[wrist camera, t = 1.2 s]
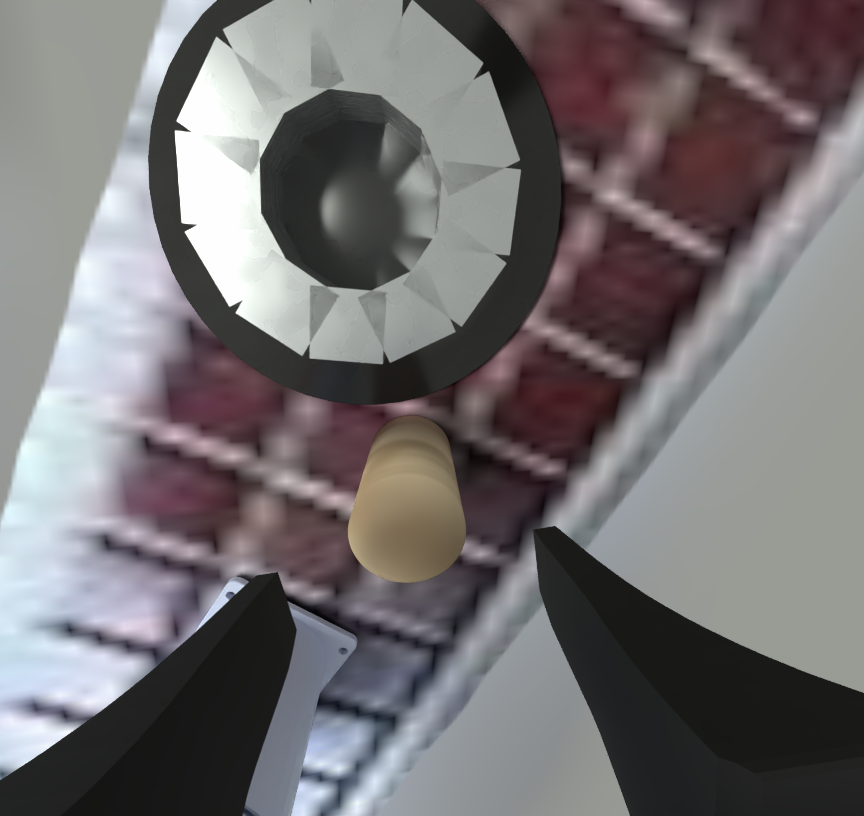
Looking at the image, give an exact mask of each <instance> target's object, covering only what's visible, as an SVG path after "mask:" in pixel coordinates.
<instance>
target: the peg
mask: <svg viewBox="0 0 864 816" xmlns="http://www.w3.org/2000/svg"><path fill="white" fill-rule="evenodd" d="M348 538H349V543H350V546H351V549H352V551H353V553H354V555H355V556H356V558H357V559H358V561H359V562H360V563H361V564H362V565H363V566H364V567H365V568H366V569H368V570H369V571H370V572H372V573H373V574H375V575H377V576H379V577H381V578H384V579H387V580H390V581H395V582H403V583H411V582H419V581H423V580H427V579H430V578H433V577H435V576H437V575H439V574H440V573H442V572H443V571H445V570H446V569H447V568H449V567H450V566H451V565H452V564H453V563H454V562H455V560H456V559H457V558H458V556H459V555H460V553H461V551H462V549H463V546H464V543H465V538H466V524H465V519H464V514H463V509H462V504H461V499H460V494H459V489H458V484H457V479H456V474H455V469H454V464H453V459H452V454H451V449H450V444H449V441H448V438H447V436H446V434H445V433H444V431H443V430H442V429H441V428H440V427H439V426H438V425H437V424H436V423H434V422H433V421H431V420H429V419H427V418H424V417H421V416H415V415H407V416H401V417H397V418H395V419H392V420H391V421H389V422H387V423H386V424H385V425H383V426H382V427H381V428H380V430H379V431H378V432H377V434H376V435H375V437H374V440H373V443H372V446H371V449H370V453H369V456H368V460H367V463H366V466H365V470H364V473H363V476H362V480H361V483H360V486H359V490H358V493H357V496H356V500H355V503H354V507H353V510H352V513H351V517H350V520H349V526H348Z"/></svg>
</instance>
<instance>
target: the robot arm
mask: <svg viewBox="0 0 864 816" xmlns="http://www.w3.org/2000/svg"><path fill="white" fill-rule="evenodd" d="M533 533H534V542H535V551H536V561H537V570H538V579H539V588H540V593H541V596H542V599H543V602H544V605H545V608H546V611H547V613H548V616H549V620H550V623H551V625H552V628H553V630H554V632H555V635H556V637H557V639H558V641H559V643H560V645H561V648H562V650H563V652H564V654H565V656H566V658H567V661H568V662H569V665H570V667H571V669H572V671H573V674H574V676H575V678H576V680H577V682H578V684H579V687H580V689H581V691H582V693H583V695H584V697H585V699H586V701H587V704H588V706H589V708H590V710H591V713H592V715H593V717H594V720H595V722H596V724H597V727H598V729H599V732H600V734H601V737H602V739H603V742H604V745H605V747H606V750H607V753H608V756H609V758H610V761H611V764H612V767H613V769H614V772H615V775H616V778H617V780H618V783H619V786H620V789H621V792H622V794H623V797H624V800H625V803H626V805H627V808H628V811H629V814H630V816H864V693H862V692H859V691H857V690H853V689H851V688H848V687H845V686H842V685H840V684H837V683H834V682H831V681H828V680H825V679H823V678H819V677H817V676H814V675H811V674H809V673H806V672H804V671H801V670H798V669H796V668H794V667H791V666H789V665H786V664H784V663H781V662H779V661H777V660H774V659H772V658H769V657H767V656H764V655H762V654H760V653H757V652H755V651H753V650H751V649H748V648H746V647H744V646H741V645H739V644H737V643H735V642H733V641H731V640H729V639H727V638H725V637H723V636H721V635H719V634H717V633H715V632H712V631H710V630H708V629H706V628H704V627H702V626H700V625H698V624H697V623H695V622H693V621H691V620H689V619H687V618H685V617H683V616H682V615H680V614H678V613H676V612H675V611H673V610H671V609H669V608H668V607H666V606H664V605H662V604H661V603H659V602H657V601H656V600H654V599H652V598H651V597H649V596H647V595H646V594H644V593H643V592H641V591H640V590H638V589H637V588H635V587H634V586H632V585H631V584H629V583H628V582H626V581H625V580H623V579H622V578H621V577H619V576H618V575H616V574H615V573H614V572H612V571H611V570H610V569H608V568H607V567H606V566H604V565H603V564H602V563H600V562H599V561H598V560H596V559H595V558H594V557H593V556H591V555H590V554H589V553H588V552H586V551H585V550H584V549H583V548H581V547H580V546H579V545H578V544H576V543H575V542H574V541H573V540H572V539H570V538H569V537H568V536H567V535H566V534H564V533H563V532H562V531H561V530H560V529H558V528H557V527H556V526H553V527H547V528H541V529H535V530H533ZM230 592H233V593H235V594H231V593H230ZM356 646H357V638H356V636H355V635H353V634H351V633H349V632H347V631H346V630H344V629H342V628H340V627H338V626H336V625H334V624H332V623H330V622H328V621H326V620H324V619H322V618H320V617H318V616H316V615H314V614H312V613H310V612H308V611H306V610H304V609H302V608H300V607H298V606H296V605H294V604H292V603H290V602H288V601H287V599H286V596H285V593H284V590H283V587H282V584H281V581H280V578H279V575H278V572H276V573H270V574H264V575H258V576H255V577H254V578H253V579H252V580H251V581H247V580H245V579H243V578H240V577H233V578H231V579H230V580H229V582H228V583H227V585H226V586H225V588H224V589H223V591H222V592H221V594H220V595H219V597H218V598H217V600H216V601H215V603H214V604H213V606H212V607H211V609H210V610H209V612H208V613H207V615H206V616H205V618H204V619H203V621H202V622H201V624H200V625H199V627H198V628H197V630H196V631H195V633H194V634H193V635H192V636H191V637H190V638H188V639H187V640H186V641H185V642H184V643H183V644H182V645H180V646H179V647H178V648H177V649H176V650H175V651H174V652H173V653H171V654H170V655H169V656H168V657H167V658H166V659H165V660H163V661H162V662H161V663H160V664H159V665H158V666H157V667H156V668H154V669H153V670H152V671H151V672H150V673H149V674H147V675H146V676H145V677H144V678H143V679H141V680H140V681H139V682H138V683H136V684H135V685H134V686H133V687H131V688H130V689H129V690H128V691H126V692H125V693H124V694H123V695H121V696H120V697H119V698H117V699H116V700H115V701H114V702H112V703H111V704H110V705H108V706H107V707H106V708H104V709H103V710H102V711H100V712H99V713H98V714H96V715H95V716H94V717H92V718H91V719H90V720H88V721H87V722H85V723H84V724H82V725H81V726H80V727H78V728H77V729H75V730H74V731H73V732H71V733H70V734H68V735H67V736H66V737H64V738H63V739H61V740H60V741H58V742H57V743H56V744H54V745H53V746H51V747H50V748H49V749H47V750H46V751H44V752H43V753H41V754H40V755H38V756H37V757H35V758H34V759H32V760H31V761H29V762H28V763H26V764H25V765H23V766H22V767H20V768H19V769H17V770H16V771H14V772H13V773H11V774H9V775H8V776H6V777H5V778H3V779H2V780H0V816H291V813H292V809H293V805H294V800H295V796H296V792H297V788H298V783H299V779H300V775H301V771H302V766H303V762H304V758H305V754H306V749H307V745H308V741H309V737H310V733H311V728H312V724H313V720H314V716H315V711H316V707H317V703H318V699H319V694H320V692H321V691H322V690H323V688H324V687H325V686H326V685H327V683H328V682H329V681H330V680H331V678H332V677H333V676H334V675H335V673H336V672H337V671H338V670H339V668H340V667H341V666H342V665H343V663H344V662H345V661H346V660H347V658H348V657H349V656H350V655H351V653H352V652H353V651H354V650H355V648H356ZM342 648H346V649H342Z"/></svg>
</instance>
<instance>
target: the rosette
mask: <svg viewBox="0 0 864 816" xmlns="http://www.w3.org/2000/svg"><path fill="white" fill-rule="evenodd" d="M148 162H149V189H150V195H151V201H152V208H153V214H154V219H155V223H156V227H157V230H158V234H159V237H160V241H161V245H162V248H163V250H164V252H165V255H166V257H167V260H168V262H169V265H170V267H171V270H172V272H173V274H174V276H175V278H176V280H177V282H178V283H179V285H180V287H181V289H182V291H183V293H184V294H185V296H186V298H187V299H188V301H189V302H190V304H191V305H192V307H193V308H194V309H195V311H196V312H197V314H198V315H199V317H200V318H201V319H202V321H203V322H204V323H205V324H206V325H207V326H208V328H209V329H210V330H211V331H212V332H213V333H214V334H215V335H216V337H217V338H218V339H219V340H220V341H221V342H222V343H223V344H224V345H225V346H227V347H228V348H229V349H230V350H231V351H232V352H233V353H234V354H235V355H237V356H238V357H239V358H240V359H241V360H243V361H244V362H245V363H247V364H248V365H250V366H251V367H253V368H254V369H255V370H257V371H258V372H260V373H261V374H263V375H265V376H266V377H268V378H270V379H272V380H274V381H276V382H277V383H279V384H281V385H283V386H285V387H288V388H290V389H293V390H295V391H298V392H300V393H303V394H305V395H309V396H312V397H316V398H320V399H324V400H328V401H333V402H340V403H347V404H371V405H377V404H386V403H395V402H402V401H406V400H410V399H414V398H418V397H422V396H425V395H427V394H430V393H432V392H435V391H438V390H440V389H443V388H445V387H447V386H449V385H451V384H452V383H454V382H456V381H458V380H460V379H462V378H463V377H465V376H467V375H468V374H469V373H471V372H472V371H474V370H475V369H476V368H478V367H479V366H481V365H482V364H483V363H485V362H486V361H487V360H488V359H489V358H490V357H491V356H492V355H493V354H494V353H495V352H496V351H498V350H499V349H500V348H501V347H502V346H503V345H504V343H505V342H506V341H507V340H508V339H509V337H510V336H511V335H512V334H513V333H514V332H515V330H516V329H517V328H518V327H519V325H520V324H521V322H522V320H523V319H524V317H525V316H526V314H527V313H528V311H529V310H530V308H531V307H532V305H533V303H534V301H535V299H536V297H537V295H538V293H539V291H540V288H541V286H542V284H543V282H544V279H545V277H546V274H547V271H548V268H549V265H550V262H551V259H552V256H553V252H554V247H555V243H556V238H557V234H558V228H559V218H560V209H561V171H560V163H559V156H558V148H557V142H556V138H555V134H554V130H553V126H552V122H551V118H550V115H549V111H548V109H547V106H546V104H545V101H544V99H543V96H542V94H541V91H540V88H539V86H538V84H537V82H536V80H535V78H534V76H533V74H532V72H531V71H530V69H529V67H528V65H527V63H526V61H525V60H524V58H523V56H522V55H521V53H520V52H519V50H518V49H517V48H516V46H515V45H514V43H513V42H512V41H511V39H510V38H509V37H508V35H507V34H506V32H505V31H504V30H503V29H502V28H501V27H500V26H499V24H498V23H497V22H496V21H495V20H494V19H493V18H492V17H491V16H490V15H489V14H488V13H487V12H486V11H485V10H484V9H483V8H482V7H481V6H480V5H479V4H478V3H476V2H475V1H474V0H217V1H216V2H215V3H214V4H213V5H212V6H211V7H209V8H208V9H207V10H206V11H205V12H204V13H203V14H202V16H201V17H200V18H199V20H198V21H197V22H196V24H195V25H194V26H193V28H192V29H191V30H190V31H189V33H188V34H187V35H186V37H185V38H184V40H183V41H182V43H181V45H180V47H179V49H178V51H177V52H176V54H175V56H174V58H173V60H172V62H171V63H170V65H169V67H168V70H167V73H166V76H165V78H164V81H163V84H162V86H161V89H160V92H159V94H158V98H157V102H156V107H155V111H154V116H153V120H152V125H151V133H150V144H149V155H148Z"/></svg>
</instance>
